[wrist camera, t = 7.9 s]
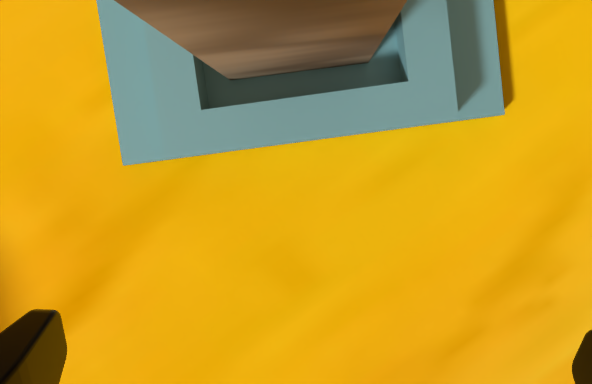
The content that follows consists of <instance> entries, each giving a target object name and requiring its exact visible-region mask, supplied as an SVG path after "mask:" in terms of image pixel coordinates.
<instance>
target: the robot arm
mask: <svg viewBox="0 0 592 384" xmlns="http://www.w3.org/2000/svg"><path fill="white" fill-rule="evenodd" d="M66 355H67V343H66V339H65V334H64V329H63V324H62V319H61V316H60V314H59V312H58V311H56V310H43V309H35V310H31V311H29V312H28V313H26V314H25V315H24V316H22V317H21V318H20V319H18V320H17V321H16V322H14V323H13V324H12V325H10V326H9V327H8V328H6V329H5V330H4V331H2V332H1V333H0V384H59V382H60V378H61V375H62V371H63V367H64V364H65V360H66ZM572 374H573V378H574V381H575V384H592V330H590V331H588V332H587V333H586V334H585V336H584V338H583V341H582V343H581V345H580V347H579V349H578V351H577V353H576V356H575V358H574V360H573V364H572Z"/></svg>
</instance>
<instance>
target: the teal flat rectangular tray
mask: <svg viewBox="0 0 592 384" xmlns="http://www.w3.org/2000/svg"><path fill="white" fill-rule="evenodd" d="M97 7H98V13H99V19H100V25H101V31H102V38H103V44H104V50H105V56H106V63H107V69H108V75H109V81H110V87H111V94H112V100H113V106H114V112H115V119H116V125H117V131H118V137H119V143H120V150H121V156H122V162H123V165H131V164H139V163H146V162H154V161H161V160H169V159H176V158H184V157H191V156H199V155H206V154H214V153H221V152H229V151H236V150H243V149H251V148H258V147H266V146H273V145H281V144H288V143H296V142H303V141H311V140H318V139H326V138H333V137H341V136H348V135H356V134H363V133H371V132H378V131H386V130H393V129H400V128H408V127H415V126H423V125H430V124H438V123H445V122H453V121H460V120H468V119H475V118H483V117H490V116H498V115H505V112H504V102H503V92H502V82H501V72H500V62H499V52H498V41H497V31H496V21H495V11H494V1H493V0H407V2H406V3H405V5H404V7H403V8H402V10H401V11H400V13H399V15H398V16H397V18H396V19H395V21H394V22H393V24H392V26H391V27H390V29H389V30H388V32H387V34H386V35H385V37H384V38H383V40H382V42H381V43H380V45H379V46H378V48H377V50H376V51H375V53H374V54H373V56H372V58H371V59H370V61H369V62H368V63H363V64H355V65H347V66H339V67H331V68H324V69H316V70H308V71H300V72H292V73H284V74H276V75H268V76H260V77H253V78H245V79H237V80H229V79H228V78H226V77H225V76H223V75H222V74H220V73H219V72H218V71H216V70H215V69H213V68H212V67H210V66H209V65H207V64H206V63H204V62H203V61H202V60H200V59H199V58H197V57H196V56H194V55H193V54H191V53H190V52H188V51H187V50H186V49H184V48H183V47H181V46H180V45H178V44H177V43H175V42H174V41H172V40H171V39H169V38H168V37H167V36H165V35H164V34H162V33H161V32H159V31H158V30H156V29H155V28H153V27H152V26H151V25H149V24H148V23H146V22H145V21H143V20H142V19H140V18H139V17H137V16H136V15H135V14H133V13H132V12H130V11H129V10H127V9H126V8H124V7H123V6H121V5H120V4H119V3H117V2H116V1H114V0H97Z"/></svg>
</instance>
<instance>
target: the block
mask: <svg viewBox="0 0 592 384" xmlns="http://www.w3.org/2000/svg"><path fill="white" fill-rule="evenodd" d="M114 1H116V2H117V3H119V4H120V5H121V6H123V7H124V8H126V9H127V10H129V11H130V12H132V13H133V14H135V15H136V16H137V17H139V18H140V19H142V20H143V21H145V22H146V23H148V24H149V25H151V26H152V27H153V28H155V29H156V30H158V31H159V32H161V33H162V34H164V35H165V36H167V37H168V38H169V39H171V40H172V41H174V42H175V43H177V44H178V45H180V46H181V47H183V48H184V49H186V50H187V51H188V52H190V53H191V54H193V55H194V56H196V57H197V58H199V59H200V60H202V61H203V62H204V63H206V64H207V65H209V66H210V67H212V68H213V69H215V70H216V71H218V72H219V73H220V74H222V75H223V76H225V77H226V78H228V79H229V80H237V79H245V78H253V77H260V76H268V75H276V74H284V73H292V72H300V71H308V70H316V69H324V68H331V67H339V66H347V65H355V64H363V63H368V62H369V61H370V59H371V58H372V56H373V54H374V53H375V51H376V50H377V48H378V46H379V45H380V43H381V42H382V40H383V38H384V37H385V35H386V34H387V32H388V30H389V29H390V27H391V26H392V24H393V22H394V21H395V19H396V18H397V16H398V15H399V13H400V11H401V10H402V8H403V7H404V5H405V3H406V2H407V0H114Z"/></svg>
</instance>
